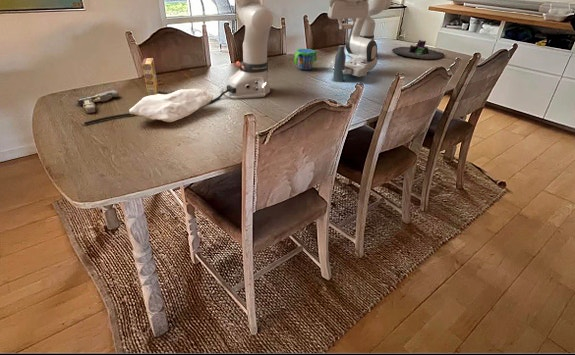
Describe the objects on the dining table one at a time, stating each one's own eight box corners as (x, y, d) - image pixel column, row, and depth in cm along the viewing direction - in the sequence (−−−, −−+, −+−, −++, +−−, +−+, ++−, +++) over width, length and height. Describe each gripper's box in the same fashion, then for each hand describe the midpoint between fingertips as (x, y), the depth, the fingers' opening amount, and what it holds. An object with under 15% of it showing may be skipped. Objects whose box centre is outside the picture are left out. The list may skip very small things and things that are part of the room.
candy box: (157, 97, 164) (152, 63, 155) (147, 98, 163) (141, 63, 155) (158, 91, 171) (153, 57, 163) (149, 91, 170) (143, 58, 162)
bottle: (340, 78, 198) (344, 44, 189) (344, 81, 194) (348, 47, 184) (331, 78, 197) (334, 44, 188) (335, 81, 193) (338, 47, 183)
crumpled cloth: (117, 110, 146) (113, 90, 140) (195, 92, 166) (194, 73, 160) (143, 139, 134) (140, 118, 128) (223, 116, 154) (224, 96, 148)
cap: (340, 27, 171) (341, 23, 170) (349, 27, 171) (349, 23, 171) (343, 29, 168) (343, 25, 167) (351, 29, 168) (352, 25, 167)
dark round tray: (454, 55, 249) (457, 41, 244) (422, 61, 231) (424, 46, 227) (413, 47, 273) (415, 35, 269) (381, 52, 256) (382, 39, 252)
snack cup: (310, 64, 218) (311, 47, 212) (321, 69, 211) (322, 51, 205) (288, 68, 210) (289, 50, 205) (299, 73, 203) (300, 54, 198)
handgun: (128, 97, 156) (111, 87, 164) (86, 107, 144) (70, 97, 152) (129, 103, 157) (113, 94, 165) (88, 114, 146) (72, 103, 154)
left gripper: (334, -3, 156) (331, 31, 163) (372, -4, 164) (367, 29, 171) (326, -5, 160) (323, 28, 168) (364, -5, 169) (359, 26, 176)
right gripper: (341, 56, 205) (324, 60, 197) (370, 64, 192) (353, 69, 184) (339, 67, 208) (323, 71, 200) (368, 76, 196) (352, 81, 188)
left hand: (346, 28), depth 170 cm, fingers closed on cap, 4 cm apart
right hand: (338, 70), depth 192 cm, fingers closed on bottle, 5 cm apart
